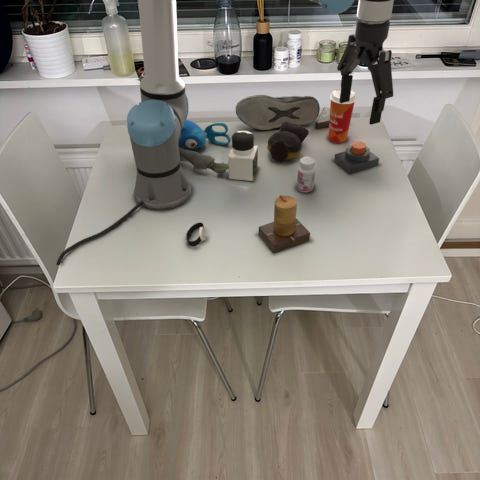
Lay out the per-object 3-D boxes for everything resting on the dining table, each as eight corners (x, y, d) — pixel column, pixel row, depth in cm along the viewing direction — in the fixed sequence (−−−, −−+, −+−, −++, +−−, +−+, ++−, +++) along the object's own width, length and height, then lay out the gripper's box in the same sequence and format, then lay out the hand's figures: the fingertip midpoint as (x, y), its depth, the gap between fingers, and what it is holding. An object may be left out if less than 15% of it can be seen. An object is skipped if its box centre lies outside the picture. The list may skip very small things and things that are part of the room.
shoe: (236, 131, 151) (231, 120, 160) (318, 128, 154) (309, 117, 164) (236, 97, 145) (231, 87, 154) (322, 94, 148) (312, 84, 157)
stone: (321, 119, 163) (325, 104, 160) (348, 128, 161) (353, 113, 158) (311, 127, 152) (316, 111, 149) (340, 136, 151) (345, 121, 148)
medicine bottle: (253, 181, 134) (253, 141, 125) (228, 179, 135) (227, 139, 126) (257, 168, 138) (258, 128, 129) (234, 166, 139) (232, 126, 130)
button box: (349, 173, 135) (351, 161, 132) (333, 160, 140) (335, 148, 137) (378, 164, 138) (380, 152, 135) (361, 152, 143) (364, 140, 140)
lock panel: (275, 255, 113) (275, 246, 111) (257, 233, 119) (257, 224, 117) (310, 242, 116) (311, 233, 114) (291, 221, 121) (292, 213, 119)
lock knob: (298, 232, 114) (301, 203, 108) (280, 238, 113) (281, 209, 107) (288, 220, 118) (290, 192, 111) (269, 226, 116) (270, 198, 110)
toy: (211, 127, 148) (200, 157, 152) (156, 102, 145) (146, 134, 149) (208, 132, 137) (196, 165, 142) (148, 105, 134) (138, 139, 139)
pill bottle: (293, 190, 131) (295, 162, 124) (300, 181, 133) (302, 154, 127) (309, 194, 129) (312, 166, 123) (316, 185, 132) (319, 158, 125)
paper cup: (320, 136, 150) (325, 91, 139) (341, 130, 152) (347, 85, 141) (333, 147, 145) (340, 101, 135) (354, 141, 147) (362, 96, 137)
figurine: (291, 169, 138) (307, 145, 148) (295, 147, 133) (312, 124, 142) (260, 158, 140) (278, 136, 149) (264, 137, 135) (282, 115, 144)
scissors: (226, 122, 142) (172, 123, 151) (225, 124, 141) (171, 124, 150) (231, 143, 146) (179, 142, 155) (230, 145, 146) (177, 144, 155)
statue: (139, 158, 143) (225, 193, 136) (136, 135, 137) (226, 170, 130) (153, 146, 147) (237, 180, 140) (151, 124, 141) (239, 157, 134)
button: (356, 156, 135) (357, 149, 133) (348, 150, 137) (349, 143, 135) (367, 153, 136) (369, 146, 134) (359, 146, 138) (360, 140, 137)
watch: (202, 249, 115) (201, 237, 112) (183, 247, 115) (182, 235, 113) (208, 230, 120) (208, 218, 117) (190, 228, 120) (189, 216, 118)
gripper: (423, 32, 100) (401, 129, 116) (355, 1, 115) (344, 90, 131) (394, 39, 98) (375, 136, 114) (329, 7, 113) (321, 96, 129)
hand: (358, 112), depth 122 cm, fingers open, 13 cm apart
